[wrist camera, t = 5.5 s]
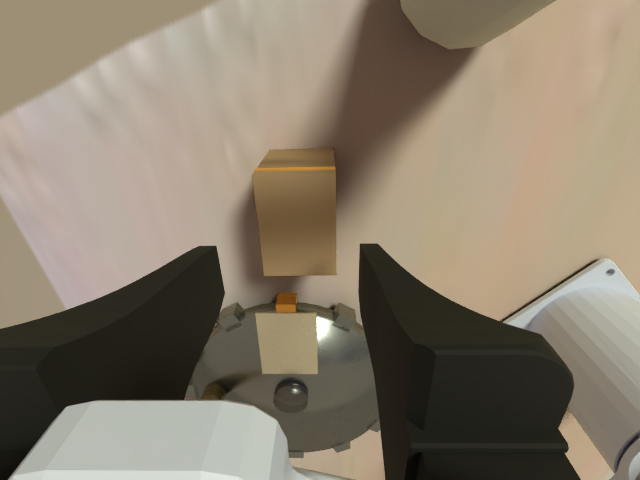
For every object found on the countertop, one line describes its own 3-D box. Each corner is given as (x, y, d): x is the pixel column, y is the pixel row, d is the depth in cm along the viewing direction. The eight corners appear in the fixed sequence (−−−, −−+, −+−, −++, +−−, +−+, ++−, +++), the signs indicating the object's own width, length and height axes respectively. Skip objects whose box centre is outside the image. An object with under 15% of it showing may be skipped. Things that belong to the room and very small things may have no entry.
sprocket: (388, 444, 29) (399, 508, 25) (206, 442, 29) (186, 505, 25) (407, 293, 22) (427, 346, 18) (169, 292, 22) (132, 345, 18)
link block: (334, 231, 21) (336, 275, 17) (277, 232, 21) (263, 276, 17) (333, 147, 19) (335, 172, 14) (269, 149, 19) (251, 174, 14)
